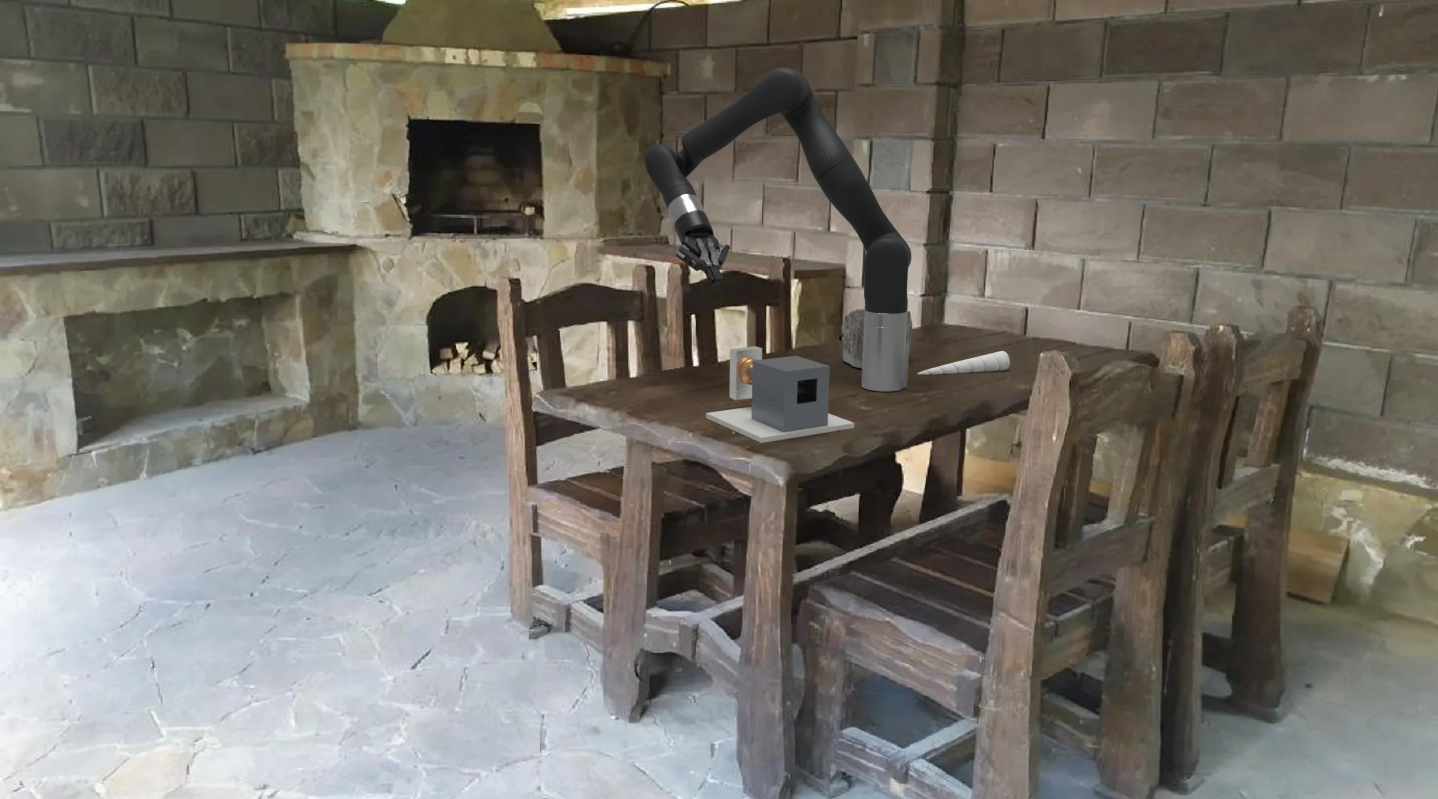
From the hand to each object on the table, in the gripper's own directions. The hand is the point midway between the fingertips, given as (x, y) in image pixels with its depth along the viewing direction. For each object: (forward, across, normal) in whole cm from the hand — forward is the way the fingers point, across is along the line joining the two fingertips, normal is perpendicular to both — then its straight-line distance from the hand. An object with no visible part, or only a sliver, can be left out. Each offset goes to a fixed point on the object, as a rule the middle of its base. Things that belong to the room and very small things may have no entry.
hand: (717, 283), depth 218 cm
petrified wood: (+12, +51, +22) cm, 57 cm away
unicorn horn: (+24, +63, +9) cm, 68 cm away
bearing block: (+38, -2, -6) cm, 39 cm away
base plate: (+36, -2, -3) cm, 36 cm away
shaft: (+30, -2, -1) cm, 30 cm away
